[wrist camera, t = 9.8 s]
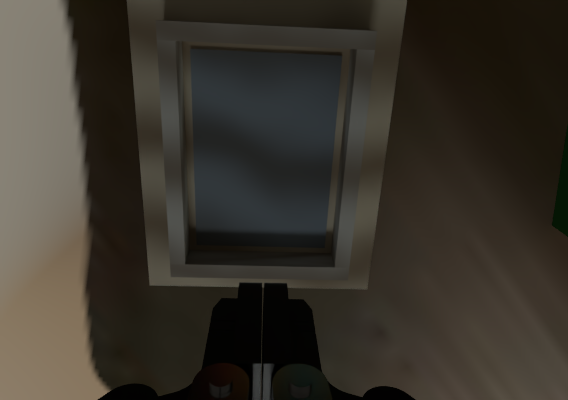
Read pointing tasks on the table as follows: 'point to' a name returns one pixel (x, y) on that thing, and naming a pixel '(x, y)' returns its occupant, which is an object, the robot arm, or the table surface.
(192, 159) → the window
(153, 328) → the table surface
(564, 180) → the hardback book
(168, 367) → the table surface
